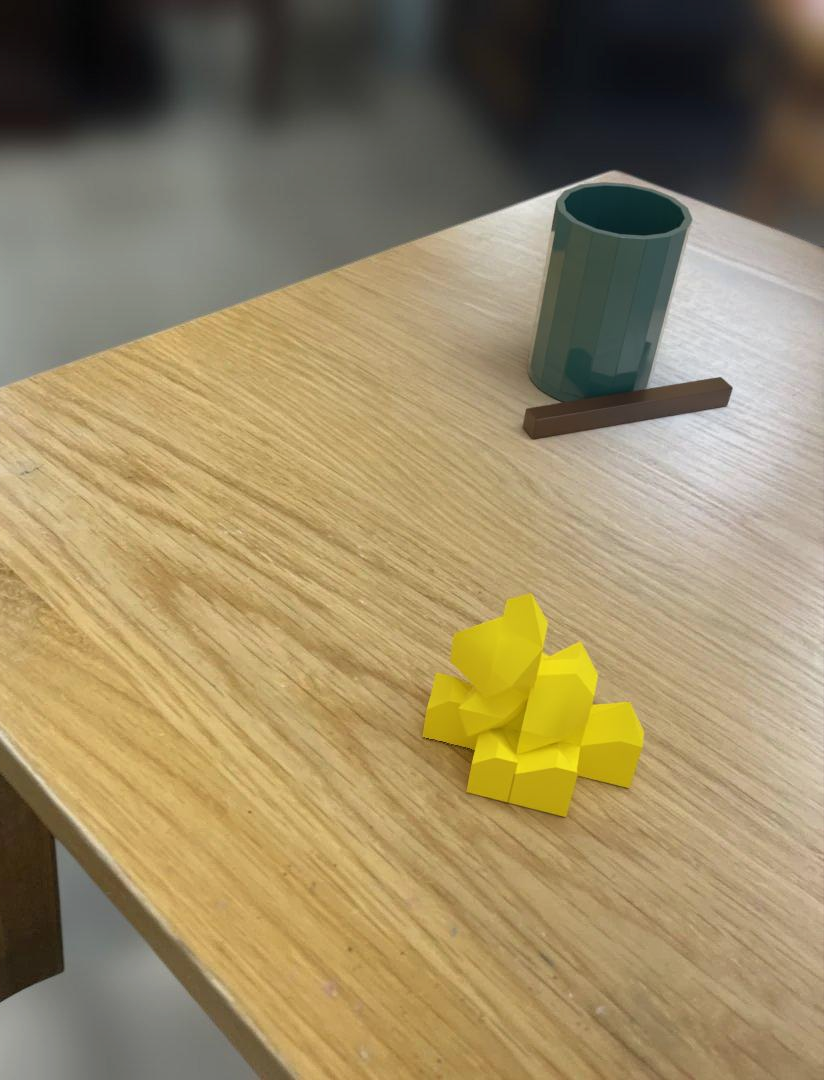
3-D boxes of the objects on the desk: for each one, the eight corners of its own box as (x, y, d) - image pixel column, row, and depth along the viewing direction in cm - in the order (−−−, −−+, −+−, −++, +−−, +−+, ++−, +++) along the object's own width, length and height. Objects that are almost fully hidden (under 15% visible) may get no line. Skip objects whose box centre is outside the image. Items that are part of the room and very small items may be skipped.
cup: (610, 338, 73) (646, 176, 66) (672, 398, 68) (718, 229, 62) (506, 353, 71) (534, 189, 65) (562, 416, 66) (598, 245, 60)
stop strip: (715, 394, 68) (721, 376, 68) (728, 406, 67) (733, 387, 67) (522, 427, 65) (525, 408, 64) (532, 439, 64) (535, 420, 64)
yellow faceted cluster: (624, 831, 45) (674, 683, 40) (410, 778, 46) (432, 628, 42) (636, 718, 49) (682, 571, 44) (441, 672, 51) (463, 526, 46)
